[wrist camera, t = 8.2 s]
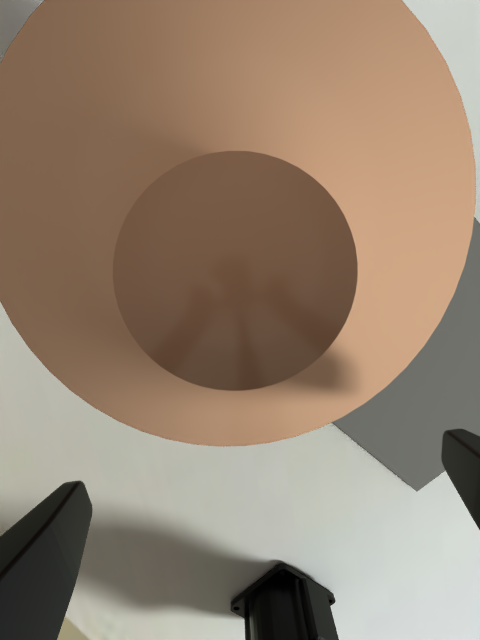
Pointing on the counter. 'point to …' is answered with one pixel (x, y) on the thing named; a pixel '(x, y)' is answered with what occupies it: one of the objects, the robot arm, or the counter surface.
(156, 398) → the terracotta lid
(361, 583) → the counter surface
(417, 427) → the rubber mat
